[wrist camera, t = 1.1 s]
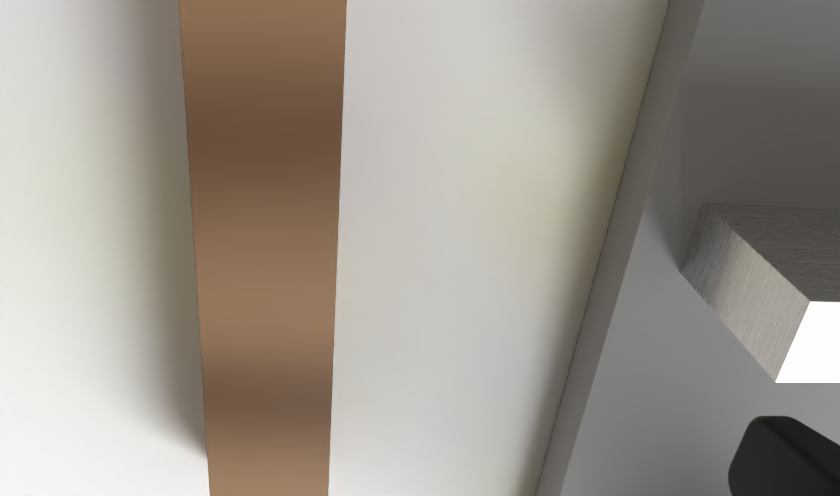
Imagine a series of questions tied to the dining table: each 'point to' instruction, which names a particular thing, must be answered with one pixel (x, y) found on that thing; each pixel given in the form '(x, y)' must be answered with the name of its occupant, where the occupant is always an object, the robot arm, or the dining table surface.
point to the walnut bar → (265, 233)
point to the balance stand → (713, 258)
